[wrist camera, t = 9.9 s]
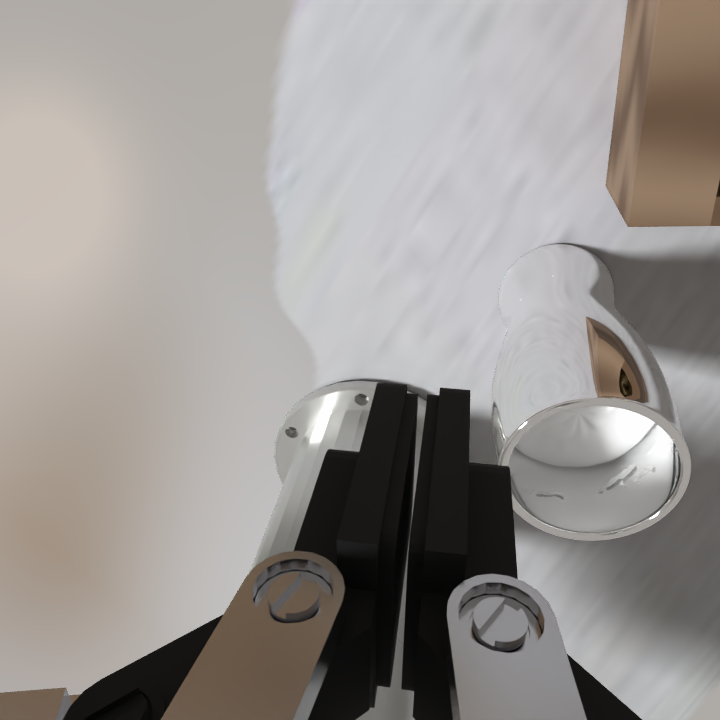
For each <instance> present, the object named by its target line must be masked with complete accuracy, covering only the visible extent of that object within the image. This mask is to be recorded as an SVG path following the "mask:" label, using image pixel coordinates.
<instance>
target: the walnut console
mask: <svg viewBox="0 0 720 720" xmlns="http://www.w3.org/2000/svg"><path fill="white" fill-rule="evenodd" d="M606 187H607V189H608V191H609V193H610V195H611V197H612V198H613V200H614V202H615V204H616V206H617V208H618V210H619V211H620V213H621V215H622V217H623V219H624V221H625V222H626V224H627V226H628V227H658V226H720V0H628V5H627V13H626V22H625V30H624V38H623V47H622V55H621V63H620V72H619V80H618V88H617V97H616V105H615V113H614V122H613V130H612V138H611V147H610V155H609V163H608V172H607V180H606Z"/></svg>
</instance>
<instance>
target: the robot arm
mask: <svg viewBox="0 0 720 720" xmlns="http://www.w3.org/2000/svg"><path fill="white" fill-rule="evenodd" d="M469 429H470V390H461V389H449V388H440V394H439V396H437V395H427V401H425V400H424V399H422V398H420V397H419V396H418V394H414V393H411V392H409V391H407V385H400V384H388V383H379V382H369V381H350V382H340V383H336V384H332V385H329V386H325V387H322V388H320V389H318V390H316V391H314V392H312V393H310V394H308V395H307V396H305V397H304V398H303V399H301V400H300V401H299V402H298V403H297V404H295V405H294V407H293V408H292V409H291V410H290V412H289V413H288V414H287V415H286V417H285V419H284V421H283V423H282V425H281V427H280V430H279V433H278V436H277V439H276V442H275V454H274V458H275V464H276V469H277V472H278V475H279V477H280V480H281V482H282V484H283V487H282V490H281V492H280V495H279V497H278V500H277V503H276V505H275V508H274V511H273V513H272V515H271V518H270V521H269V523H268V526H267V528H266V531H265V533H264V536H263V539H262V541H261V544H260V546H259V549H258V552H257V554H256V557H255V559H254V562H253V564H252V567H251V570H250V572H249V574H248V575H247V577H246V578H245V580H244V582H243V583H242V585H241V586H240V588H239V590H238V591H237V593H236V595H235V596H234V598H233V600H232V601H231V603H230V605H229V607H228V608H227V610H226V611H225V613H224V614H223V615H222V616H220V617H218V618H216V619H214V620H212V621H210V622H208V623H206V624H204V625H203V626H201V627H199V628H197V629H195V630H194V631H191V632H190V633H188V634H186V635H184V636H182V637H180V638H178V639H176V640H174V641H173V642H171V643H169V644H167V645H165V646H163V647H161V648H159V649H158V650H156V651H154V652H152V653H150V654H148V655H147V656H144V657H142V658H141V659H139V660H137V661H135V662H133V663H131V664H130V665H127V666H126V667H124V668H122V669H120V670H118V671H116V672H114V673H112V674H110V675H109V676H107V677H105V678H103V679H101V680H100V681H98V682H97V683H95V684H94V685H92V686H91V687H89V688H88V689H86V690H85V691H84V692H83V693H82V694H80V695H68V692H67V689H66V688H57V689H43V690H30V691H17V692H5V693H0V720H642V719H641V718H640V717H638V716H637V715H636V714H635V713H634V712H633V711H632V710H630V709H629V708H628V707H627V706H626V705H625V704H624V703H622V702H621V701H620V700H619V699H618V698H617V697H616V696H614V695H613V694H612V693H611V692H610V691H609V690H608V689H606V688H605V687H604V686H603V685H602V684H601V683H600V682H598V681H597V680H596V679H595V678H594V677H593V676H592V675H590V674H589V673H588V672H587V671H586V670H585V669H584V668H582V667H581V666H580V665H579V664H578V663H577V662H576V661H574V660H573V659H572V658H571V657H570V656H569V655H568V654H567V653H566V650H565V647H564V643H563V640H562V637H561V633H560V630H559V627H558V624H557V620H556V617H555V615H554V613H553V611H552V609H551V606H550V604H549V602H548V601H547V600H546V599H545V598H544V597H543V596H542V595H541V594H540V593H539V592H538V591H537V590H536V589H534V588H533V587H531V586H530V585H528V584H527V583H525V582H524V581H521V580H518V578H517V563H516V548H515V534H514V519H513V504H512V489H511V475H510V468H509V466H501V465H490V464H480V463H469Z"/></svg>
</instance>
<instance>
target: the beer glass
mask: <svg viewBox="0 0 720 720" xmlns="http://www.w3.org/2000/svg"><path fill="white" fill-rule="evenodd" d="M498 306H499V311H500V315H501V317H502V320H503V322H504V324H505V326H506V328H507V332H506V335H505V338H504V341H503V343H502V346H501V350H500V353H499V356H498V359H497V363H496V368H495V373H494V378H493V383H492V400H491V414H492V429H493V437H494V445H495V451H496V457H497V463H498V465H501V466H509V468H510V475H511V489H512V504H513V510H514V511H515V512H516V513H517V514H518V515H519V516H520V517H521V518H523V519H524V520H525V521H526V522H528V523H529V524H531V525H533V526H534V527H536V528H538V529H540V530H542V531H544V532H547V533H549V534H552V535H555V536H559V537H563V538H567V539H573V540H583V541H600V540H610V539H616V538H620V537H624V536H628V535H631V534H634V533H637V532H639V531H642V530H644V529H646V528H648V527H650V526H652V525H653V524H655V523H657V522H658V521H660V520H661V519H662V518H664V517H665V516H666V515H667V514H668V513H669V512H671V511H672V510H673V508H674V507H675V506H676V505H677V504H678V503H679V501H680V500H681V498H682V497H683V495H684V493H685V491H686V489H687V487H688V484H689V481H690V476H691V457H690V452H689V449H688V446H687V444H686V442H685V439H684V436H683V432H682V428H681V424H680V420H679V417H678V413H677V410H676V406H675V403H674V400H673V397H672V394H671V392H670V389H669V386H668V384H667V381H666V378H665V376H664V374H663V372H662V370H661V368H660V366H659V364H658V362H657V360H656V358H655V357H654V355H653V353H652V352H651V350H650V349H649V348H648V346H647V345H646V344H645V342H644V341H643V340H642V338H641V337H640V335H639V334H638V333H637V332H636V331H635V330H634V328H633V327H632V326H631V325H630V324H629V323H628V322H627V321H626V320H625V319H624V317H623V316H622V315H621V314H620V313H619V312H618V311H617V310H616V309H615V308H614V285H613V281H612V278H611V275H610V273H609V271H608V269H607V267H606V266H605V265H604V263H603V262H602V261H601V260H600V259H599V258H598V257H596V256H595V255H594V254H592V253H591V252H589V251H587V250H585V249H583V248H580V247H577V246H573V245H568V244H552V245H546V246H542V247H538V248H536V249H533V250H531V251H529V252H527V253H526V254H524V255H522V256H521V257H520V258H518V259H517V260H516V261H515V262H514V263H513V264H512V265H511V266H510V267H509V269H508V270H507V272H506V273H505V275H504V277H503V279H502V281H501V284H500V288H499V292H498Z"/></svg>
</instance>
